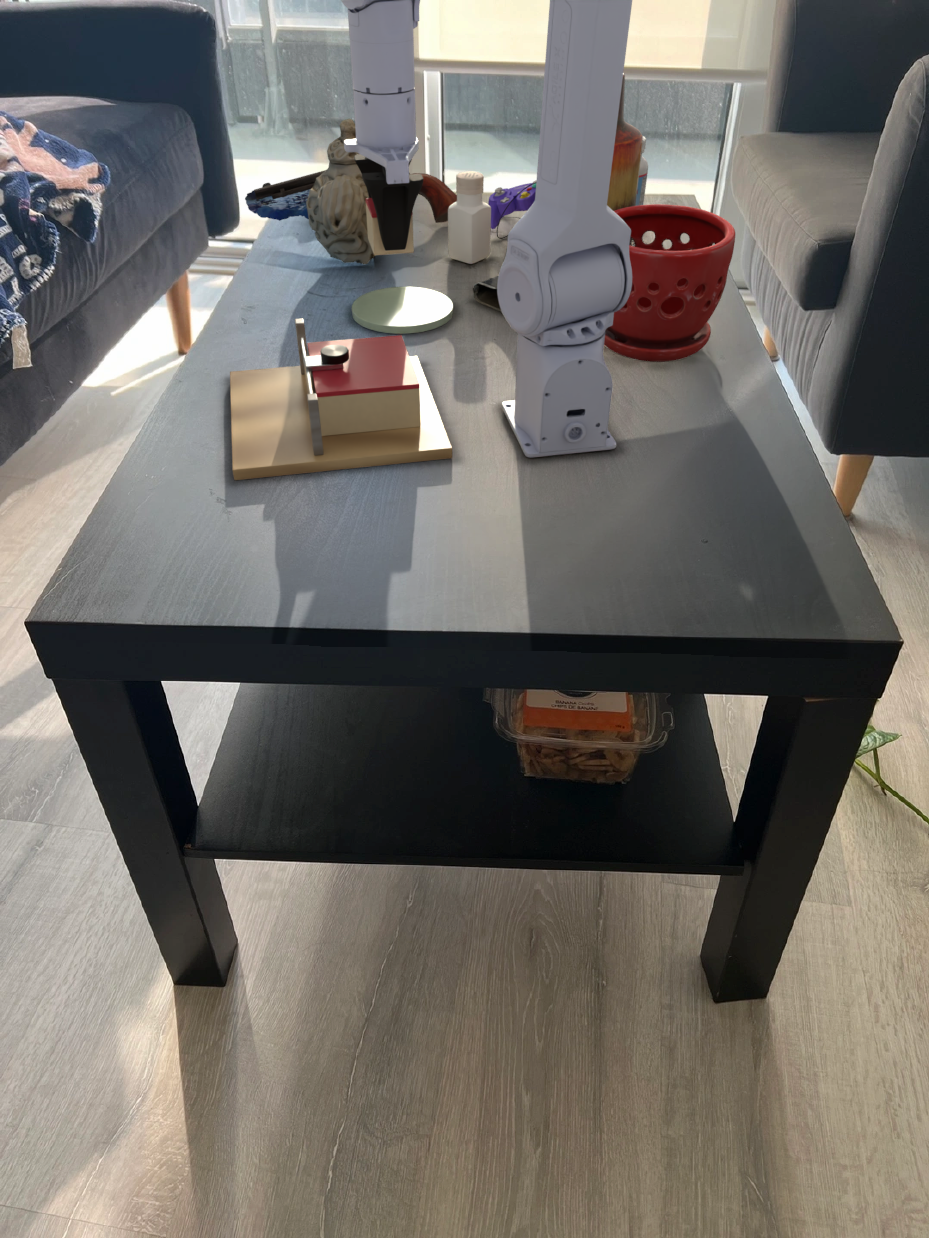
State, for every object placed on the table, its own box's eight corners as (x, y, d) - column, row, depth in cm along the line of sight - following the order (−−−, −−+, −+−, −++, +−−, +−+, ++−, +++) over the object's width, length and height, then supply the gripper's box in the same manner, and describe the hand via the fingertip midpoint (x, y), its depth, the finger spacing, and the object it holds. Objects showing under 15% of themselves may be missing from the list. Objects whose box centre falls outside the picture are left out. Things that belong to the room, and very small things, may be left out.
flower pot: (574, 321, 100) (583, 204, 92) (693, 317, 100) (713, 201, 93) (599, 376, 90) (612, 250, 82) (731, 371, 91) (757, 246, 83)
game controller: (467, 210, 116) (486, 171, 122) (488, 268, 122) (505, 229, 128) (542, 192, 112) (558, 153, 118) (560, 254, 118) (575, 213, 123)
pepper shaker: (471, 266, 112) (472, 182, 106) (446, 259, 114) (445, 176, 107) (492, 257, 114) (494, 174, 108) (466, 250, 116) (467, 168, 110)
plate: (462, 329, 98) (462, 322, 97) (358, 337, 96) (357, 330, 96) (443, 290, 106) (443, 283, 106) (347, 297, 104) (346, 290, 104)
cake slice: (413, 253, 93) (412, 211, 90) (374, 255, 92) (371, 213, 90) (406, 236, 97) (404, 196, 94) (367, 238, 96) (365, 198, 94)
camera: (503, 288, 107) (504, 250, 104) (568, 316, 101) (572, 277, 98) (470, 299, 104) (471, 261, 101) (535, 328, 98) (538, 289, 95)
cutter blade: (359, 428, 78) (355, 377, 75) (314, 433, 78) (308, 381, 75) (345, 371, 87) (341, 323, 84) (305, 375, 86) (299, 326, 83)
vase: (644, 275, 110) (670, 79, 97) (562, 287, 107) (577, 87, 94) (601, 245, 117) (619, 60, 104) (523, 256, 114) (532, 67, 101)
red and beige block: (420, 427, 80) (419, 384, 77) (320, 436, 79) (315, 393, 76) (403, 375, 87) (401, 334, 85) (311, 383, 86) (306, 342, 83)
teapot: (384, 290, 105) (377, 146, 96) (287, 283, 107) (269, 140, 97) (424, 229, 121) (421, 100, 111) (338, 223, 123) (328, 95, 113)
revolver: (469, 220, 125) (441, 145, 127) (470, 202, 121) (441, 125, 123) (281, 273, 122) (255, 196, 124) (276, 256, 118) (250, 177, 121)
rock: (334, 169, 135) (335, 183, 136) (232, 194, 127) (234, 209, 128) (396, 189, 126) (397, 204, 128) (291, 218, 118) (293, 234, 119)
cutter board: (452, 458, 78) (452, 393, 74) (234, 480, 75) (222, 413, 71) (417, 365, 91) (415, 305, 87) (231, 381, 89) (221, 320, 85)
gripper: (332, 73, 90) (343, 219, 99) (349, 108, 79) (359, 267, 88) (404, 71, 91) (409, 215, 100) (430, 104, 80) (433, 262, 89)
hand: (390, 239), depth 94 cm, fingers closed on cake slice, 5 cm apart
